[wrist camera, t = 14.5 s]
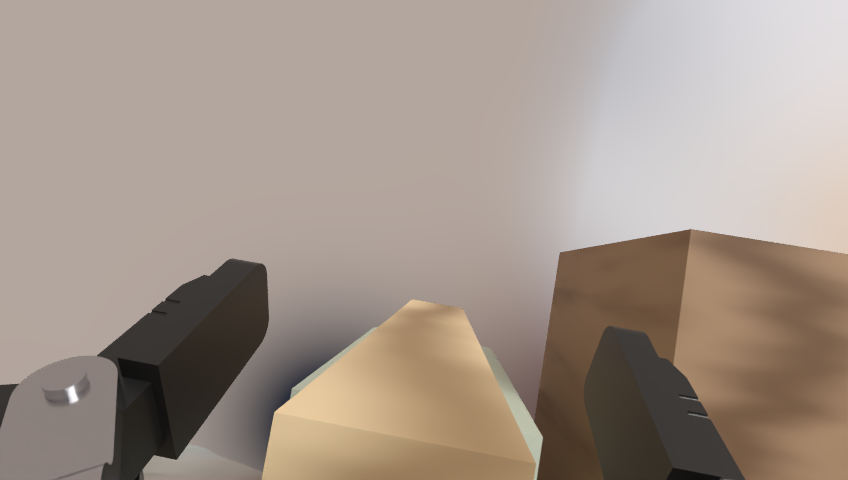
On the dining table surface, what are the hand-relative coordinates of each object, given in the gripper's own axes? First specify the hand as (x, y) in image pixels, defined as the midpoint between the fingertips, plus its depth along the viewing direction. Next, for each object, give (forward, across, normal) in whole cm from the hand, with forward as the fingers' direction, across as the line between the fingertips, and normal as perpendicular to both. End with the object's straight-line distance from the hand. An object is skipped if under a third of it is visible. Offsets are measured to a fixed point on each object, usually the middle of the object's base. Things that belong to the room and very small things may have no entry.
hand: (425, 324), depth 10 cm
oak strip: (+7, 0, +8) cm, 11 cm away
